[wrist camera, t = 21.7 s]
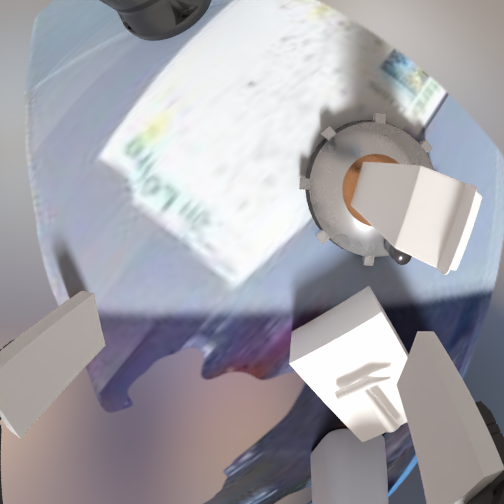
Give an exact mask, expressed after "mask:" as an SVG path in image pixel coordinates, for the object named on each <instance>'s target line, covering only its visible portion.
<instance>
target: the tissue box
mask: <svg viewBox="0 0 504 504" xmlns="http://www.w3.org/2000/svg"><path fill="white" fill-rule="evenodd" d="M408 356H409V354H408V352H407V350H406V349H405V347H404V345H403V343H402V341H401V339H400V338H399V336H398V334H397V332H396V330H395V329H394V327H393V325H392V323H391V322H390V320H389V318H388V316H387V315H386V313H385V311H384V310H383V308H382V306H381V304H380V303H379V301H378V299H377V298H376V296H375V294H374V293H373V291H372V289H371V288H370V286H367V287H366V288H364V289H363V290H361V291H359V292H358V293H356V294H355V295H353V296H352V297H350V298H348V299H347V300H345V301H343V302H342V303H340V304H339V305H337V306H335V307H334V308H332V309H330V310H329V311H327V312H325V313H324V314H322V315H320V316H318V317H317V318H315V319H313V320H312V321H310V322H308V323H306V324H305V325H303V326H301V327H299V328H297V329H296V330H294V331H292V336H291V348H290V360H289V364H290V365H291V366H292V367H293V368H294V370H295V371H296V372H297V373H298V374H299V375H300V376H301V377H302V379H303V380H304V381H305V382H306V383H307V384H308V385H309V386H310V387H311V388H312V390H313V391H314V392H315V393H316V394H317V395H318V396H319V397H320V398H321V399H322V400H323V402H324V403H325V404H326V405H327V406H328V407H329V408H330V409H331V410H332V411H333V412H334V413H335V414H336V415H337V417H338V418H339V419H340V420H341V421H342V422H343V423H344V424H345V425H346V426H347V427H348V428H349V429H350V430H351V431H352V432H353V433H354V434H355V435H356V436H357V437H358V438H359V439H360V441H361V442H365V441H367V440H369V439H372V438H374V437H376V436H379V435H381V434H383V433H385V432H393V431H395V430H397V429H398V428H399V426H400V425H402V424H404V423H406V422H407V418H406V415H405V411H404V408H403V405H402V401H401V398H400V395H399V392H398V389H397V386H396V384H397V382H398V380H399V378H400V375H401V373H402V370H403V368H404V366H405V363H406V361H407V358H408Z"/></svg>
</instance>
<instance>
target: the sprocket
mask: <svg viewBox="0 0 504 504" xmlns="http://www.w3.org/2000/svg"><path fill="white" fill-rule="evenodd" d="M321 135H322V136H323V137H324V138H325V139H326V140H327V142H326V143H325V145H324V146H323V147H322V149H321V150H320V151H319V153H318V155H317V157H316V159H315V161H314V164H313V166H312V170H311V174H310V178H300V188H299V189H305V190H310V199H311V203H312V207H313V211H314V213H315V216H316V218H317V220H318V222H319V224H320V226H321V227H322V228H321V229H320V230H319V231H318V232H317V233H315V235H316V237H317V238H318V240H319V241H320V242H321V243H322V244H324V243H325V242H326V241H327V240H328V239H330V238H331V239H332V240H333V241H334V242H335V243H336V244H338V245H339V246H340V247H342V248H344V249H345V250H347V251H350V252H352V253H354V254H358V255H361V256H362V263H363V265H368V266H373V264H374V258H375V257H381V256H388V255H390V256H391V257H392V258H393V259H394V260H395V261H396V263H398V264H400V265H404V264H407V263H408V262H409V261H410V259H411V257H412V256H410V255H408V254H406V253H404V252H402V251H400V250H398V249H396V248H394V247H393V246H392V245H391V244H390V243H389V242H388V241H387V240H386V239H385V238H384V237H383V236H382V235H381V234H380V233H379V232H378V231H377V230H376V229H375V228H374V227H373V226H372V225H371V224H370V223H369V222H368V221H367V220H366V219H365V218H364V217H363V216H362V215H361V214H359V213H358V212H357V211H356V210H355V209H354V208H353V207H352V206H351V205H350V204H351V201H352V198H353V195H354V191H355V188H356V185H357V181H358V178H359V174H360V171H361V167H362V164H363V162H378V163H394V164H407V165H419V166H424V167H427V168H429V169H432V170H434V169H433V166H432V164H431V161H430V159H429V157H428V155H427V153H428V152H429V151H430V150H431V149H432V147H431V146H430V144H429V143H428V141H427V140H422V141H421V142H420V143H418V142H417V141H416V140H415V139H414V138H413V137H412V136H410V135H409V134H407V133H406V132H405V131H403V130H401V129H399V128H397V127H395V126H392V125H389V124H386V114H382V113H374V114H373V122H365V123H359V124H355V125H352V126H350V127H347V128H345V129H343V130H341V131H340V132H338V133H336V132H335V131H334V130H333V129H332V128H331V127H330V126H329V127H328V128H326V129H325V130H324V131H323V132H322V133H321Z"/></svg>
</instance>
